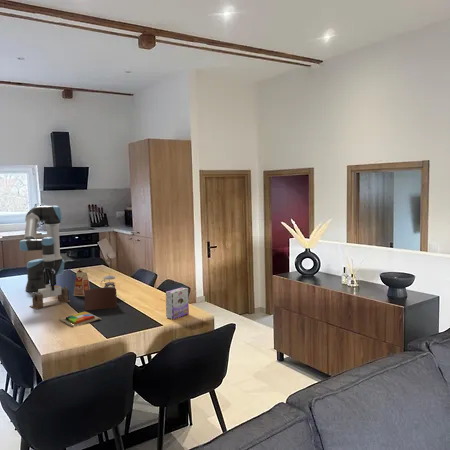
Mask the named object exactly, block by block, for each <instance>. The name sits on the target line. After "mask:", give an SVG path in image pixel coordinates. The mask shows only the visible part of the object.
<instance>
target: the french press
mask: <svg viewBox="0 0 450 450" xmlns="http://www.w3.org/2000/svg"><path fill="white" fill-rule="evenodd" d="M110 264H111V262H110V261H109V262H107V265H110ZM114 279H116V276H114V275H110V274H109V275H106V276H104V277H103V279H102V280H101V281H100V283H99V284H100V288H116V284H115V283H116V282H113V281H110V280H114ZM106 280H109V282H106ZM103 282H104V285H103V286H102V283H103ZM116 297H117V294H116Z"/></svg>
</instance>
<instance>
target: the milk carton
mask: <svg viewBox="0 0 450 450" xmlns="http://www.w3.org/2000/svg"><path fill="white" fill-rule="evenodd" d="M88 276H89V275H88V272H87V271H86V270H85V268H78V271H76V275H75V281H74V282H75V283H74V289H73V297H77V296H78V297H85V295H84V292H85V290H89V289H91V288H90V287H91V286H90V281H89V277H88Z"/></svg>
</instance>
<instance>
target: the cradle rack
mask: <svg viewBox="0 0 450 450" xmlns="http://www.w3.org/2000/svg"><path fill="white" fill-rule="evenodd" d="M68 291H69V290H68V289H62V291H61V293H62V295H57V299H55V300H49V301H47V302H46V301H45V302H44V298H43V294H37V296H35V298H32V297H31V300H32V305H29V308H31V309H35V310H40V309H45V308H49V307H54V306H58V305H62V303H63V304H67V303H70V302H72V300H71V299H69V292H68ZM34 293H37V292H34ZM66 302H67V303H66Z"/></svg>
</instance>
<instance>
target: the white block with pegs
mask: <svg viewBox="0 0 450 450" xmlns="http://www.w3.org/2000/svg"><path fill="white" fill-rule="evenodd" d="M68 288H69V287H68V286H67V285H65V286H64V285H63V287H62V286H61V285H57V284H56V285H54V292H55V295H52V296H50V287H49V288H43V289H38V292H36V293H35V292H30V293H31V294H30V295H31V296H30V297H31V299H32V298H35V296H37V294H43V299H47V298H52V297H58V295H62V293H61V291H62V289H68Z"/></svg>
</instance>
